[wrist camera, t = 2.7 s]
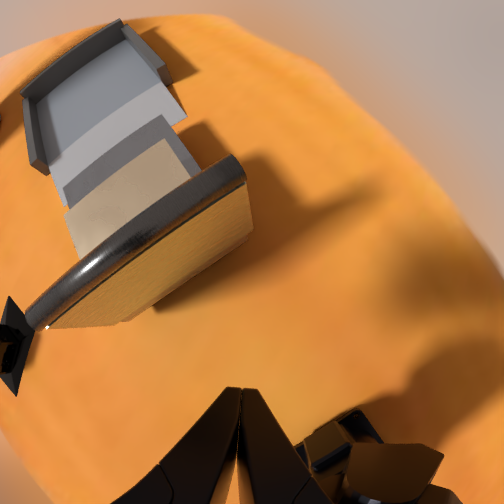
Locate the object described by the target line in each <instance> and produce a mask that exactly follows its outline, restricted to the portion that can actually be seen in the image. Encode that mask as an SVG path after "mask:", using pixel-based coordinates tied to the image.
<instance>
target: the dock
mask: <svg viewBox="0 0 504 504" xmlns="http://www.w3.org/2000/svg"><path fill="white" fill-rule="evenodd" d="M172 83H173V81H172V78H171V76H170V73H169V71H168V68H167V66H166V64H165V63H164V61H163V60H162V59H161V58H160V57H159V56H158V55H157V54H156V53H155V52H154V51H153V50H152V49H151V48H150V47H149V46H148V45H147V44H146V43H145V41H144V40H143V39H142V38H141V37H140V36H139V35H138V34H137V33H136V32H135V31H134V30H133V29H132V28H131V27H130V26H129V25H128V24H125V25H123V23H122V21H121V19H120V18H119V19H117V20H116V21H114V22H112V23H110V24H109V25H107V26H105V27H104V28H102V29H100V30H99V31H97V32H96V33H94V34H92V35H91V36H89V37H88V38H86V39H85V40H83V41H82V42H80V43H79V44H77V45H76V46H75V47H73V48H72V49H70V50H69V51H68V52H66V53H65V54H64V55H62V56H61V57H60V58H58V59H57V60H56V61H54V62H53V63H52V64H51V65H49V66H48V67H47V68H46V69H45V70H43V71H42V72H41V73H40V74H39V75H38V76H36V77H35V78H34V79H33V80H32V81H31V82H30V83H28V84H27V85H26V86H25V87H24V88H23V89H22V90H21V91H20V94H21V95H22V96H23V97H24V99H23V100H22V102H23V115H24V125H25V134H26V142H27V149H28V155H29V161H30V165H31V166H32V167H34V168H35V169H37V170H38V171H40V172H41V173H43V174H44V175H46V176H47V175H48V174H49V173H50V172H51V175H52V178H53V181H54V183H55V186H56V188H57V191H58V193H59V196H60V198H61V201H62V203H63V206H64V207H65V206H66V205H67V204H68V203H67V200H66V197H65V194H64V191H63V187H64V186H65V185H67V184H68V183H69V182H70V181H71V180H72V179H73V178H75V177H76V176H77V175H78V174H79V173H80V172H82V171H83V170H84V169H85V168H87V167H88V166H89V165H90V164H91V163H93V162H94V161H95V160H96V159H98V158H99V157H100V156H102V155H103V154H104V153H105V152H107V151H108V150H109V149H111V148H112V147H113V146H115V145H116V144H118V143H119V142H120V141H122V140H123V139H124V138H126V137H127V136H129V135H130V134H132V133H133V132H135V131H136V130H137V129H139V128H140V127H142V126H143V125H145V124H146V123H148V122H149V121H151V120H153V119H154V118H156V117H157V116H159V115H160V114H162V115H163V116H164V118H165V119H166V121H167V122H168V123H169V125H170V126H173V125H175V124H176V123H178V122H179V121H181V120H183V119H184V118H186V117H188V116H187V115H186V114H185V112H184V111H183V110H182V108H181V107H180V106H179V104H178V103H177V102H176V100H175V99H174V98H173V96H172V95H171V94H170V92H169V91H168V90H167V88H166V86H168V85H170V84H172Z"/></svg>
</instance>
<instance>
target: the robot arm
mask: <svg viewBox="0 0 504 504" xmlns="http://www.w3.org/2000/svg"><path fill="white" fill-rule="evenodd" d="M241 395H242V398H241ZM240 408H241V410H240ZM355 413H358V416H357V417H353V416H354V414H355ZM239 420H240V423H239ZM238 432H239V435H238ZM237 445H238V448H237ZM236 455H237V473H238V486H239V499H240V504H463V503H462V502H461V501H460V500H459V498H458V497H457V496H456V495H455V494H454V492H452V491H451V490H449V489H446V488H443V487H439V486H436V485H433V484H430V483H431V481H432V480H433V478H434V476H435V474H436V472H437V470H438V468H439V466H440V464H441V462H442V460H443V458H444V454H442V453H440V452H438V451H436V450H434V449H431V448H429V447H427V446H425V445H423V444H384V442H383V441H382V440H381V438H380V437H379V435H378V434H377V432H376V431H375V430H374V428H373V427H372V425H371V424H370V422H369V421H368V419H367V418H366V417H365V415H364V414H363V412H362V411H361V410H360V409H358V408H355V409H352V410H351V411H349V412H348V413H347V414H345V415H344V416H342V417H341V418H339V419H338V420H336V421H331V422H330V423H328V424H327V425H325V426H324V427H322V428H321V429H319V430H317V431H316V432H314V433H313V434H311V435H309V436H308V437H306V438H305V439H304V441H303V442H302V443H300V444H298V445H296V446H295V447H293V445H292V444H291V442H290V441H289V439H288V437H287V436H286V434H285V433H284V431H283V430H282V428H281V426H280V425H279V423H278V422H277V420H276V418H275V417H274V415H273V414H272V412H271V410H270V409H269V407H268V405H267V404H266V402H265V400H264V399H263V397H262V395H261V394H260V392H259V391H258V390H257V389H252V388H243V389H241V388H239V387H226V388H225V389H224V390H223V392H222V393H221V394H220V395H219V396H218V397H217V399H216V400H215V401H214V402H213V403H212V404H211V406H210V407H209V408H208V409H207V410H206V411H205V413H204V414H203V415H202V416H201V417H200V418H199V419H198V420H197V422H196V423H195V424H194V425H193V426H192V427H191V428H190V429H189V431H188V432H187V433H186V434H185V435H184V436H183V437H182V438H181V439H180V440H179V441H178V443H177V444H176V445H175V446H174V447H173V448H172V449H171V450H170V451H169V452H168V453H167V454H166V455H165V456H164V457H163V459H162V460H161V461H160V462H159V464H157V465H156V466H155V467H154V468H153V469H152V470H151V471H150V472H149V473H148V474H147V475H146V476H145V477H143V478H142V479H141V480H140V481H139V482H138V483H137V484H136V485H135V486H133V487H132V488H131V489H130V490H128V491H127V492H126V493H124V494H123V495H122V496H120V497H119V498H118V499H116V500H115V501H113V502H112V503H110V504H225V503H226V499H227V495H228V491H229V487H230V483H231V479H232V475H233V471H234V467H235V462H236Z"/></svg>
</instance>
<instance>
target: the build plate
mask: <svg viewBox="0 0 504 504" xmlns="http://www.w3.org/2000/svg"><path fill="white" fill-rule="evenodd" d="M34 333H35V330H34V329H33V328H32V327H31V326H30V325H29V324H28V322H27V320H26V318H25V315H24V313H23V312H22V311H21V310H20V309H19V307H18V306H17V305H16V304H15V302H14V301H13V300H12V298H11V297H10V296H8V299H7V302H6V305H5V308H4V312H3V315H2V319H1V322H0V378H1V379H2V380H3V382H4V383H5V384H6V385H7V386H8V388H9V389H10V390H11V391H12V393H13V394H14V395H15V396H16V397H17V393H18V389H19V385H20V381H21V377H22V373H23V369H24V366H25V362H26V359H27V355H28V352H29V349H30V345H31V342H32V339H33V336H34Z"/></svg>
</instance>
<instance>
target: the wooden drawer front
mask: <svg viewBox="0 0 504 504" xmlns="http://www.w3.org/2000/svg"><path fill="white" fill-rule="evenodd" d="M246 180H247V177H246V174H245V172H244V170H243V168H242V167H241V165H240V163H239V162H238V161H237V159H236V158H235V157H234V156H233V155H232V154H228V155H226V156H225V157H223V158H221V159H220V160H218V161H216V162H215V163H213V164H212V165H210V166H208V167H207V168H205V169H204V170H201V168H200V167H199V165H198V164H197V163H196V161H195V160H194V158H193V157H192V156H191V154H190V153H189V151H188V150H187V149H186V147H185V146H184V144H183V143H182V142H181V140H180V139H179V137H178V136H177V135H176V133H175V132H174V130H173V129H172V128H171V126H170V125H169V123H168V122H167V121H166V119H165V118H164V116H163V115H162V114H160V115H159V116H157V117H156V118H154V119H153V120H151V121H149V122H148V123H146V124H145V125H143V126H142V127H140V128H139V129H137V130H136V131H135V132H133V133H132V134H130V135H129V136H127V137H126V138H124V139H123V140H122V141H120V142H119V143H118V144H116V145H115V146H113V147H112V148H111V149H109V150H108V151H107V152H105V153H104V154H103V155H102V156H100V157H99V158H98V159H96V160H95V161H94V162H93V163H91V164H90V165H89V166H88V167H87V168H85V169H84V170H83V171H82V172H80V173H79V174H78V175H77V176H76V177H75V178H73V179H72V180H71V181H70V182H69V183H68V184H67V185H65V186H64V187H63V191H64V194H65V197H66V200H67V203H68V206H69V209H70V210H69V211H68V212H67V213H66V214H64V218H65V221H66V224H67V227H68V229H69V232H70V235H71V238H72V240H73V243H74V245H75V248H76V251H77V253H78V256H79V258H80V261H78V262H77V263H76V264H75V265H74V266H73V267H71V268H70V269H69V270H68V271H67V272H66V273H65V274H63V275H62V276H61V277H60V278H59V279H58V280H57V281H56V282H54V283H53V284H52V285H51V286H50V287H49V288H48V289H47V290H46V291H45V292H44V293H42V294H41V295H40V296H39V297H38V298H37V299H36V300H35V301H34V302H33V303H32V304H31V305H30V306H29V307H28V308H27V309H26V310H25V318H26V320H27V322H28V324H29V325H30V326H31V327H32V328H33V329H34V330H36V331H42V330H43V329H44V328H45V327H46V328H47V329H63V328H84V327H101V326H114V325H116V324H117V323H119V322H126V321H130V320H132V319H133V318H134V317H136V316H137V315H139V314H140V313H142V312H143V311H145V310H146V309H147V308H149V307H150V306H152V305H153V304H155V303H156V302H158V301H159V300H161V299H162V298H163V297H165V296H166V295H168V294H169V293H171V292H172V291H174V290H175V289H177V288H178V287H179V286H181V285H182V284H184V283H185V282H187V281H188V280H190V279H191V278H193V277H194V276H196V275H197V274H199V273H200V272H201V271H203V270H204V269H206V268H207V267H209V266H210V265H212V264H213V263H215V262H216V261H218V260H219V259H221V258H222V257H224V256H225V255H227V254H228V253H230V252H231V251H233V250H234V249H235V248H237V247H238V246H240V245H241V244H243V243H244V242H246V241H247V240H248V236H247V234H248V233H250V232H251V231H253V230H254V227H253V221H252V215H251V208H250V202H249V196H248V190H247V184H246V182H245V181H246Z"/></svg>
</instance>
